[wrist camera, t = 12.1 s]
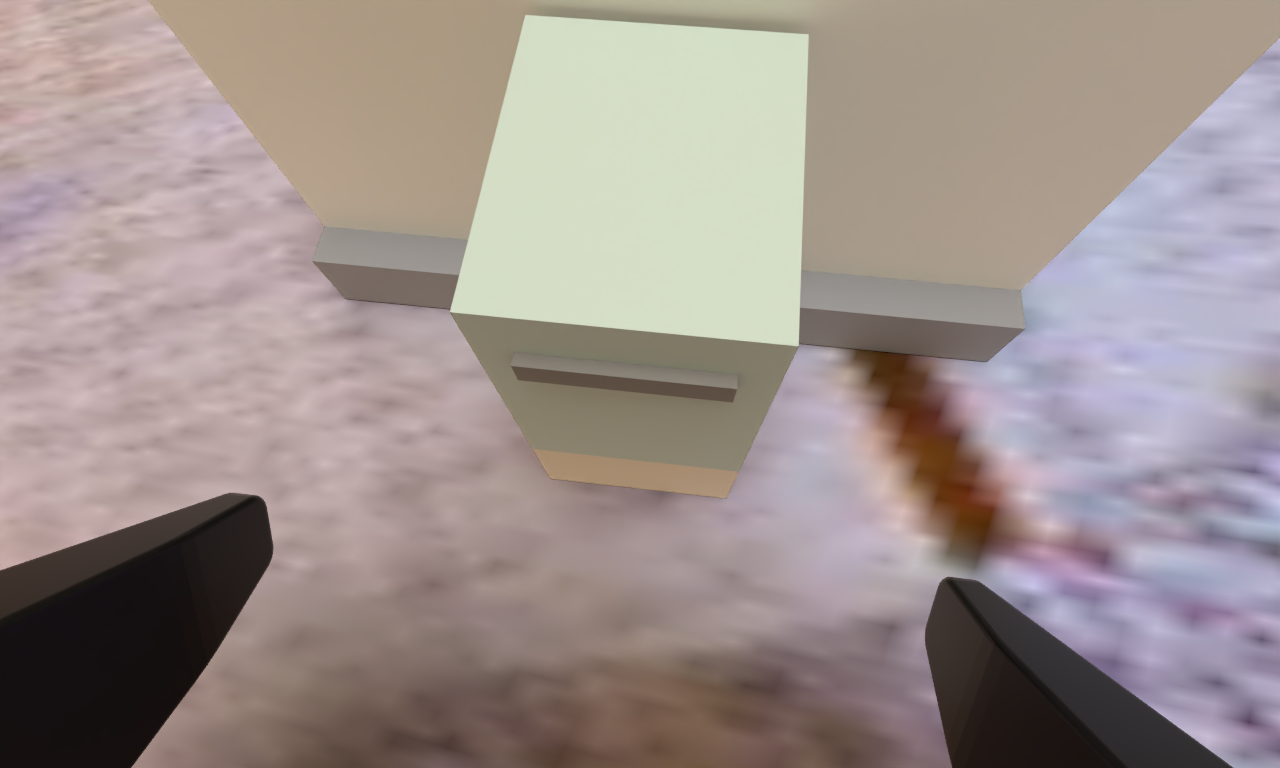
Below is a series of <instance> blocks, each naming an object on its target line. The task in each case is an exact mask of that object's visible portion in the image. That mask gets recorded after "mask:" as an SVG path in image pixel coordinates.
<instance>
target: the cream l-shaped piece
mask: <svg viewBox="0 0 1280 768" xmlns="http://www.w3.org/2000/svg"><path fill="white" fill-rule="evenodd" d="M148 1H149V2H150V3H151V4H152V6H153V7H154V8H155V10H156V11H157V12H158V13H159V15H160V16H161V17H162V18H163V20H164V21H165V22H166V24H167V25H168V26H169V27H170V29H171V30H172V31H173V33H174V34H175V35H176V36H177V38H178V39H179V40H180V42H181V43H182V44H183V45H184V47H185V48H186V49H187V51H188V52H189V53H190V54H191V56H192V57H193V58H194V60H195V61H196V62H197V63H198V65H199V66H200V67H201V69H202V70H203V71H204V72H205V74H206V75H207V76H208V78H209V79H210V80H211V81H212V83H213V84H214V85H215V87H216V88H217V89H218V90H219V92H220V93H221V94H222V95H223V97H224V98H225V99H226V101H227V102H228V103H229V104H230V106H231V107H232V108H233V110H234V111H235V112H236V113H237V115H238V116H239V117H240V119H241V120H242V121H243V122H244V124H245V125H246V126H247V128H248V129H249V130H250V131H251V133H252V134H253V135H254V137H255V138H256V139H257V140H258V142H259V143H260V144H261V146H262V147H263V148H264V149H265V151H266V152H267V153H268V155H269V156H270V157H271V158H272V160H273V161H274V162H275V164H276V165H277V166H278V167H279V169H280V170H281V171H282V172H283V174H284V175H285V176H286V178H287V179H288V180H289V181H290V183H291V184H292V185H293V187H294V188H295V189H296V190H297V192H298V193H299V194H300V196H301V197H302V198H303V199H304V201H305V202H306V203H307V205H308V206H309V207H310V208H311V210H312V211H313V212H314V214H315V215H316V216H317V217H318V219H319V220H320V221H321V223H322V224H323V225H324V226H325V227H324V230H323V232H322V235H321V238H320V241H319V244H318V247H317V249H316V252H315V255H314V258H313V262H314V264H315V265H316V266H317V267H318V268H319V269H320V270H321V272H322V273H323V274H324V275H325V276H326V277H327V278H328V280H329V281H330V282H331V283H332V284H333V285H334V286H335V287H336V289H337V290H338V291H339V292H340V293H341V294H342V295H343V297H344V298H345V299H354V300H364V301H374V302H384V303H394V304H404V305H415V306H425V307H435V308H445V309H451V306H452V302H453V298H454V294H455V290H456V286H457V282H458V278H459V274H460V270H461V266H462V262H463V258H464V255H465V251H466V247H467V243H468V239H469V235H470V231H471V227H472V223H473V219H474V215H475V211H476V207H477V203H478V199H479V196H480V192H481V188H482V184H483V180H484V176H485V172H486V168H487V164H488V160H489V156H490V152H491V148H492V144H493V140H494V137H495V133H496V129H497V125H498V121H499V117H500V113H501V109H502V105H503V101H504V97H505V93H506V89H507V85H508V81H509V78H510V74H511V70H512V66H513V62H514V58H515V54H516V50H517V46H518V42H519V38H520V34H521V30H522V26H523V23H524V19H525V15H534V16H548V17H563V18H578V19H592V20H607V21H621V22H636V23H650V24H665V25H680V26H694V27H709V28H723V29H738V30H752V31H767V32H782V33H796V34H809V43H808V74H807V104H806V135H805V165H804V196H803V227H802V257H801V288H800V319H799V343H801V344H811V345H821V346H831V347H841V348H852V349H862V350H872V351H882V352H892V353H902V354H913V355H923V356H933V357H943V358H953V359H963V360H974V361H984V362H987V361H988V360H990V359H991V358H992V357H993V356H994V355H995V354H997V353H998V352H999V351H1000V350H1001V349H1002V348H1004V347H1005V346H1006V345H1007V344H1008V343H1009V342H1011V341H1012V340H1013V339H1014V338H1015V337H1016V336H1017V335H1019V334H1020V333H1021V332H1022V331H1023V330H1024V329H1025V323H1024V314H1023V305H1022V295H1021V290H1022V289H1023V288H1024V287H1025V286H1026V285H1027V284H1028V283H1029V282H1030V281H1031V280H1032V279H1033V278H1034V277H1035V276H1036V275H1037V274H1038V273H1039V272H1040V271H1041V270H1042V269H1043V268H1044V267H1045V266H1046V265H1047V264H1048V263H1049V262H1050V261H1051V260H1052V259H1053V258H1054V257H1056V256H1057V255H1058V254H1059V253H1060V252H1061V251H1062V250H1063V249H1064V248H1065V247H1066V246H1067V245H1068V244H1069V243H1070V242H1071V241H1072V240H1073V239H1074V238H1075V237H1076V236H1077V235H1078V234H1079V233H1080V232H1081V231H1082V230H1083V229H1084V228H1085V227H1086V226H1087V225H1088V224H1089V223H1090V222H1091V221H1092V220H1093V219H1094V218H1095V217H1096V216H1098V215H1099V214H1100V213H1101V212H1102V211H1103V210H1104V209H1105V208H1106V207H1107V206H1108V205H1109V204H1110V203H1111V202H1112V201H1113V200H1114V199H1115V198H1116V197H1117V196H1118V195H1119V194H1120V193H1121V192H1122V191H1123V190H1124V189H1125V188H1126V187H1127V186H1128V185H1129V184H1130V183H1131V182H1132V181H1133V180H1134V179H1135V178H1136V177H1137V176H1138V175H1140V174H1141V173H1142V172H1143V171H1144V170H1145V169H1146V168H1147V167H1148V166H1149V165H1150V164H1151V163H1152V162H1153V161H1154V160H1155V159H1156V158H1157V157H1158V156H1159V155H1160V154H1161V153H1162V152H1163V151H1164V150H1165V149H1166V148H1167V147H1168V146H1169V145H1170V144H1171V143H1172V142H1173V141H1174V140H1175V139H1176V138H1177V137H1178V136H1179V135H1180V134H1182V133H1183V132H1184V131H1185V130H1186V129H1187V128H1188V127H1189V126H1190V125H1191V124H1192V123H1193V122H1194V121H1195V120H1196V119H1197V118H1198V117H1199V116H1200V115H1201V114H1202V113H1203V112H1204V111H1205V110H1206V109H1207V108H1208V107H1209V106H1210V105H1211V104H1212V103H1213V102H1214V101H1215V100H1216V99H1217V98H1218V97H1219V96H1220V95H1221V94H1222V93H1224V92H1225V91H1226V90H1227V89H1228V88H1229V87H1230V86H1231V85H1232V84H1233V83H1234V82H1235V81H1236V80H1237V79H1238V78H1239V77H1240V76H1241V75H1242V74H1243V73H1244V72H1245V71H1246V70H1247V69H1248V68H1249V67H1250V66H1251V65H1252V64H1253V63H1254V62H1255V61H1256V60H1257V59H1258V58H1259V57H1260V56H1261V55H1262V54H1263V53H1264V52H1265V51H1267V50H1268V49H1269V48H1270V47H1271V46H1272V45H1273V44H1274V43H1275V42H1276V41H1277V40H1278V39H1279V38H1280V0H148Z"/></svg>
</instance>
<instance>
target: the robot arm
mask: <svg viewBox="0 0 1280 768" xmlns="http://www.w3.org/2000/svg"><path fill="white" fill-rule="evenodd" d="M272 555H273V541H272V535H271V529H270V524H269V518H268V512H267V506H266V503H265V502H264V500H263V499H262V498H261V497H259V496H257V495H248V494H240V493H228V494H224V495H221V496H218V497H215V498H212V499H210V500H207V501H204V502H201V503H198V504H195V505H192V506H189V507H186V508H183V509H180V510H177V511H174V512H171V513H168V514H165V515H162V516H159V517H157V518H154V519H151V520H148V521H145V522H142V523H139V524H136V525H133V526H130V527H127V528H124V529H121V530H118V531H115V532H112V533H109V534H106V535H104V536H101V537H98V538H95V539H92V540H89V541H86V542H83V543H80V544H77V545H74V546H71V547H68V548H65V549H62V550H59V551H56V552H53V553H51V554H48V555H45V556H42V557H39V558H36V559H33V560H30V561H27V562H24V563H21V564H18V565H15V566H12V567H9V568H6V569H3V570H0V768H131V767H132V766H133V765H134V763H135V762H136V761H137V759H138V758H139V757H140V755H141V754H142V753H143V751H144V750H145V749H146V747H147V746H148V745H149V743H150V742H151V741H152V739H153V738H154V737H155V735H156V734H157V733H158V731H159V730H160V729H161V727H162V726H163V725H164V723H165V722H166V720H167V719H168V718H169V716H170V715H171V714H172V712H173V711H174V710H175V708H176V707H177V706H178V704H179V703H180V702H181V700H182V699H183V698H184V696H185V695H186V694H187V692H188V691H189V690H190V688H191V687H192V686H193V684H194V683H195V682H196V680H197V679H198V677H199V676H200V675H201V673H202V672H203V670H204V669H205V668H206V666H207V665H208V663H209V662H210V660H211V659H212V657H213V656H214V654H215V652H216V651H217V649H218V648H219V646H220V645H221V643H222V641H223V640H224V638H225V636H226V635H227V633H228V632H229V630H230V628H231V627H232V625H233V623H234V622H235V620H236V618H237V617H238V615H239V613H240V612H241V610H242V609H243V607H244V605H245V604H246V602H247V600H248V599H249V597H250V595H251V594H252V592H253V590H254V589H255V587H256V586H257V584H258V582H259V581H260V579H261V577H262V576H263V574H264V572H265V571H266V569H267V567H268V566H269V564H270V561H271V559H272ZM925 645H926V650H927V655H928V659H929V664H930V669H931V673H932V678H933V683H934V688H935V692H936V697H937V702H938V706H939V711H940V716H941V720H942V725H943V730H944V734H945V739H946V744H947V748H948V752H949V756H950V760H951V764H952V768H1233V767H1232V766H1230V765H1229V764H1228V763H1226V762H1225V761H1223V760H1222V759H1221V758H1219V757H1218V756H1217V755H1215V754H1214V753H1213V752H1211V751H1210V750H1208V749H1207V748H1206V747H1204V746H1203V745H1202V744H1200V743H1199V742H1198V741H1196V740H1195V739H1193V738H1192V737H1191V736H1189V735H1188V734H1187V733H1185V732H1184V731H1182V730H1181V729H1180V728H1178V727H1177V726H1176V725H1174V724H1173V723H1172V722H1170V721H1169V720H1167V719H1166V718H1165V717H1163V716H1162V715H1161V714H1159V713H1158V712H1157V711H1155V710H1154V709H1152V708H1151V707H1150V706H1148V705H1147V704H1146V703H1144V702H1143V701H1142V700H1140V699H1139V698H1137V697H1136V696H1135V695H1133V694H1132V693H1131V692H1129V691H1128V690H1127V689H1125V688H1124V687H1122V686H1121V685H1120V684H1118V683H1117V682H1116V681H1114V680H1113V679H1112V678H1110V677H1109V676H1107V675H1106V674H1105V673H1103V672H1102V671H1101V670H1099V669H1098V668H1097V667H1095V666H1094V665H1092V664H1091V663H1090V662H1088V661H1087V660H1086V659H1084V658H1083V657H1082V656H1080V655H1079V654H1077V653H1076V652H1075V651H1073V650H1072V649H1071V648H1069V647H1068V646H1067V645H1065V644H1064V643H1062V642H1061V641H1060V640H1058V639H1057V638H1056V637H1054V636H1053V635H1052V634H1050V633H1049V632H1047V631H1046V630H1045V629H1043V628H1042V627H1041V626H1039V625H1038V624H1037V623H1035V622H1034V621H1032V620H1031V619H1030V618H1028V617H1027V616H1026V615H1024V614H1023V613H1022V612H1020V611H1019V610H1017V609H1016V608H1015V607H1013V606H1012V605H1011V604H1009V603H1008V602H1007V601H1005V600H1004V599H1002V598H1001V597H1000V596H998V595H997V594H996V593H994V592H993V591H992V590H990V589H989V588H987V587H986V586H985V585H983V584H982V583H980V582H979V581H976V580H971V579H962V578H953V577H946V578H945V579H943V580H942V581H941V582H940V584H939V586H938V589H937V592H936V595H935V599H934V602H933V605H932V609H931V612H930V615H929V618H928V622H927V625H926V630H925Z"/></svg>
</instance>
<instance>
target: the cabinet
mask: <svg viewBox="0 0 1280 768" xmlns="http://www.w3.org/2000/svg"><path fill="white" fill-rule="evenodd" d="M808 43H809V34H796V33H782V32H767V31H752V30H738V29H723V28H709V27H694V26H680V25H665V24H650V23H636V22H621V21H607V20H592V19H578V18H563V17H548V16H534V15H525V19H524V23H523V26H522V30H521V34H520V38H519V42H518V46H517V50H516V54H515V58H514V62H513V66H512V70H511V74H510V78H509V81H508V85H507V89H506V93H505V97H504V101H503V105H502V109H501V113H500V117H499V121H498V125H497V129H496V133H495V137H494V140H493V144H492V148H491V152H490V156H489V160H488V164H487V168H486V172H485V176H484V180H483V184H482V188H481V192H480V196H479V199H478V203H477V207H476V211H475V215H474V219H473V223H472V227H471V231H470V235H469V239H468V243H467V247H466V251H465V255H464V258H463V262H462V266H461V270H460V274H459V278H458V282H457V286H456V290H455V294H454V298H453V302H452V306H451V310H450V313H451V315H452V317H453V318H454V320H455V322H456V323H457V325H458V327H459V328H460V330H461V331H462V333H463V335H464V336H465V338H466V340H467V341H468V343H469V345H470V346H471V348H472V350H473V351H474V353H475V355H476V356H477V358H478V360H479V361H480V363H481V365H482V366H483V368H484V369H485V371H486V373H487V374H488V376H489V378H490V379H491V381H492V383H493V384H494V386H495V388H496V389H497V391H498V393H499V394H500V396H501V398H502V399H503V401H504V403H505V404H506V406H507V408H508V409H509V411H510V412H511V414H512V416H513V417H514V419H515V421H516V422H517V424H518V426H519V427H520V429H521V431H522V432H523V434H524V436H525V437H526V439H527V441H528V442H529V444H530V446H531V447H532V449H533V451H534V452H535V454H536V455H537V457H538V459H539V460H540V462H541V464H542V465H543V467H544V469H545V470H546V472H547V474H548V475H549V477H550V479H558V480H567V481H576V482H585V483H594V484H602V485H611V486H620V487H629V488H638V489H647V490H656V491H664V492H673V493H682V494H691V495H700V496H709V497H718V498H727V496H728V493H729V491H730V489H731V487H732V485H733V483H734V481H735V479H736V477H737V475H738V472H739V470H740V468H741V466H742V464H743V462H744V460H745V458H746V456H747V454H748V451H749V449H750V447H751V445H752V443H753V441H754V439H755V437H756V435H757V433H758V430H759V428H760V426H761V424H762V422H763V420H764V418H765V416H766V414H767V412H768V409H769V407H770V405H771V403H772V401H773V399H774V397H775V395H776V393H777V391H778V388H779V386H780V384H781V382H782V380H783V378H784V376H785V374H786V372H787V370H788V368H789V365H790V363H791V361H792V359H793V357H794V355H795V353H796V351H797V349H798V347H799V319H800V288H801V257H802V227H803V196H804V165H805V135H806V104H807V74H808Z"/></svg>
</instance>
